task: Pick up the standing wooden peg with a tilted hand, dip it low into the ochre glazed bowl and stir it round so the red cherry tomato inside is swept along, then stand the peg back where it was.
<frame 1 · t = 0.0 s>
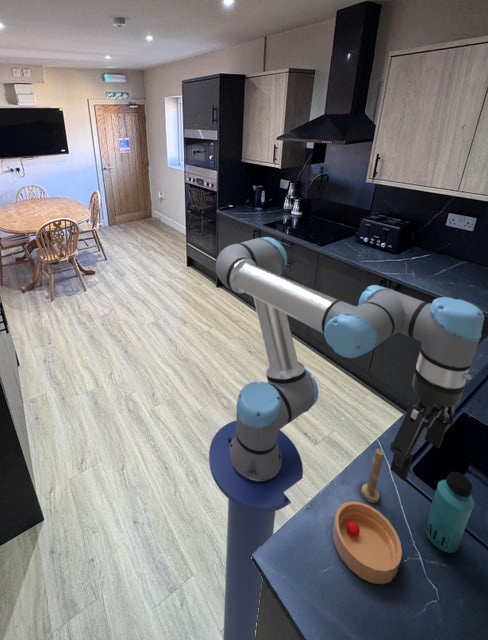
hand: (416, 458, 68), 24 cm above the worktop, tool pointing down, fingers open, 13 cm apart
beverage bottle: (438, 541, 74), on the worktop
bowl: (363, 547, 73), on the worktop
cherry tomato: (352, 528, 75), point 2 cm above the worktop, touching bowl
wooden peg: (369, 494, 84), on the worktop
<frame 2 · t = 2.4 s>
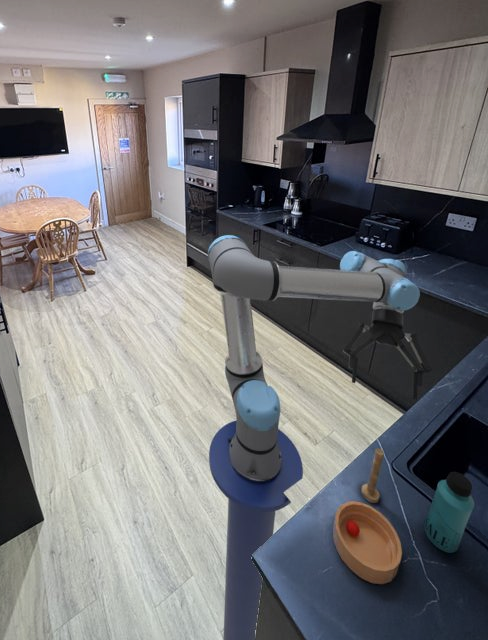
hand: (382, 390, 84), 26 cm above the worktop, tool tilted 45°, fingers open, 13 cm apart
nothing on the worktop moved.
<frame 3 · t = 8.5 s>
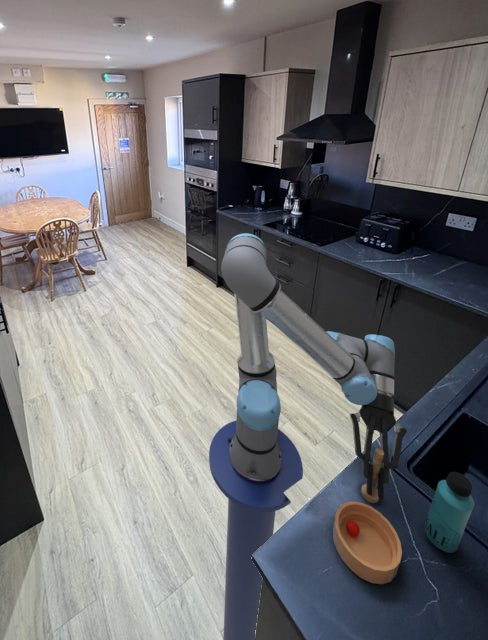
hand: (374, 496, 79), 5 cm above the worktop, tool tilted 45°, fingers closed on wooden peg, 2 cm apart
wooden peg: (369, 494, 84), on the worktop, touching gripper
everything else where it was.
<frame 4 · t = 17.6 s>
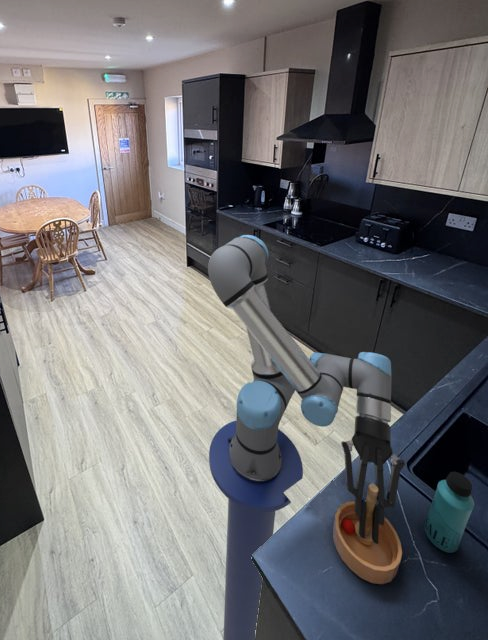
hand: (368, 538, 69), 6 cm above the worktop, tool tilted 45°, fingers closed on wooden peg, 2 cm apart
cherry tomato: (348, 526, 75), point 2 cm above the worktop, tilted 37°, touching bowl, wooden peg
wooden peg: (363, 534, 74), point 1 cm above the worktop, touching cherry tomato, gripper
everything else where it was.
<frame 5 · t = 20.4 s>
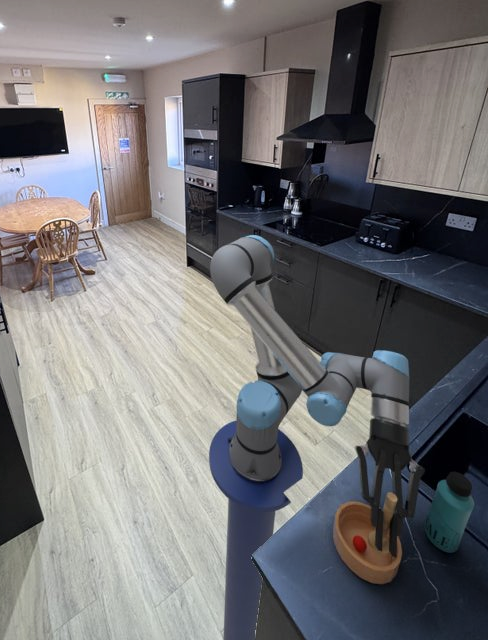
hand: (385, 551, 64), 10 cm above the worktop, tool tilted 45°, fingers closed on wooden peg, 2 cm apart
cherry tomato: (359, 543, 72), point 2 cm above the worktop, tilted 92°, touching bowl
wooden peg: (378, 545, 69), point 5 cm above the worktop, touching gripper
everything else where it was.
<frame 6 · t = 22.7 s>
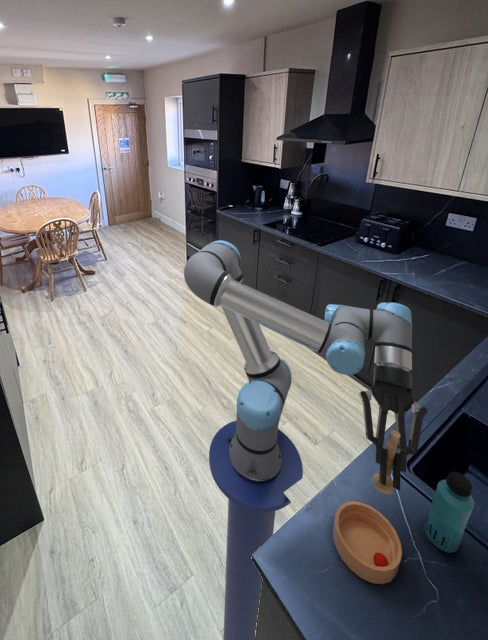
hand: (389, 485, 67), 20 cm above the worktop, tool tilted 45°, fingers closed on wooden peg, 2 cm apart
cherry tomato: (380, 561, 69), point 2 cm above the worktop, tilted 90°, touching bowl
wooden peg: (382, 485, 72), point 15 cm above the worktop, touching gripper
everything else where it was.
when the fingers open (5 cm above the worktop, at t = 27.9 s): wooden peg stays where it is, on the worktop.
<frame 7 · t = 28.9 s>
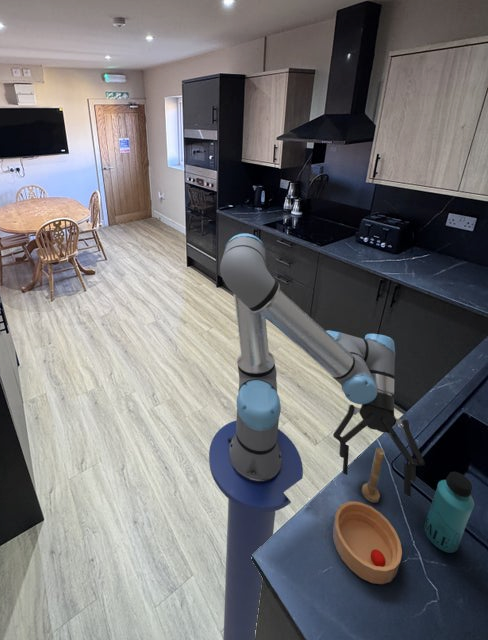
hand: (375, 484, 79), 7 cm above the worktop, tool tilted 45°, fingers open, 13 cm apart
cherry tomato: (377, 558, 70), point 2 cm above the worktop, tilted 115°, touching bowl
wooden peg: (370, 494, 84), on the worktop
everything else where it was.
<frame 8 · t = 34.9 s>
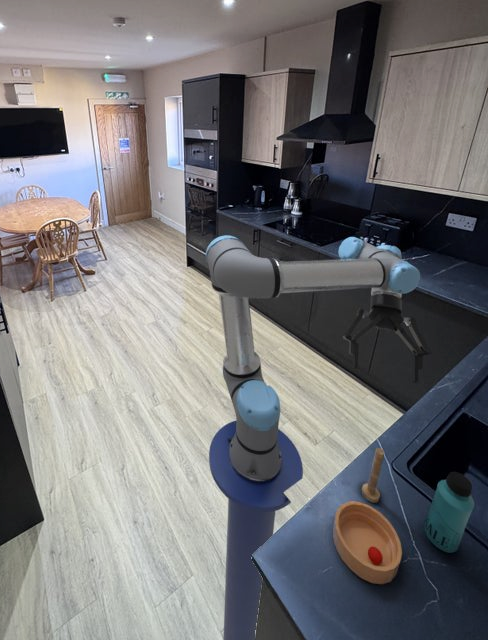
hand: (384, 374, 84), 30 cm above the worktop, tool tilted 45°, fingers open, 13 cm apart
cherry tomato: (375, 555, 70), point 2 cm above the worktop, tilted 139°, touching bowl
everything else where it was.
at the end: cherry tomato moved 5.6 cm from its start; cherry tomato inside the target area in the bowl (2.6 cm from its centre), point 2.0 cm above the bowl's base; wooden peg tilted 0° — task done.
